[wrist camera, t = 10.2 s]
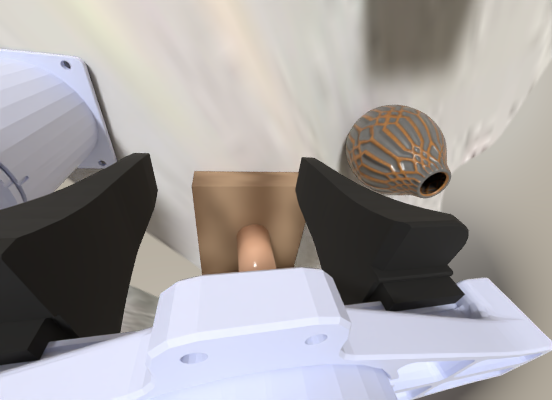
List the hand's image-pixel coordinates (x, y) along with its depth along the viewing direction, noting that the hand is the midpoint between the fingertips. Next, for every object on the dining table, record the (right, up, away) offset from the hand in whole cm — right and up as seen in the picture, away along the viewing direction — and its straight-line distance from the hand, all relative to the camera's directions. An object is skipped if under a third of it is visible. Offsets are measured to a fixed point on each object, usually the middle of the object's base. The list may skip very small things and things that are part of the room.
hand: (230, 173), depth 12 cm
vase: (+11, +5, +11) cm, 17 cm away
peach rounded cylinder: (0, -5, +13) cm, 14 cm away
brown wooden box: (-1, -4, +15) cm, 15 cm away
